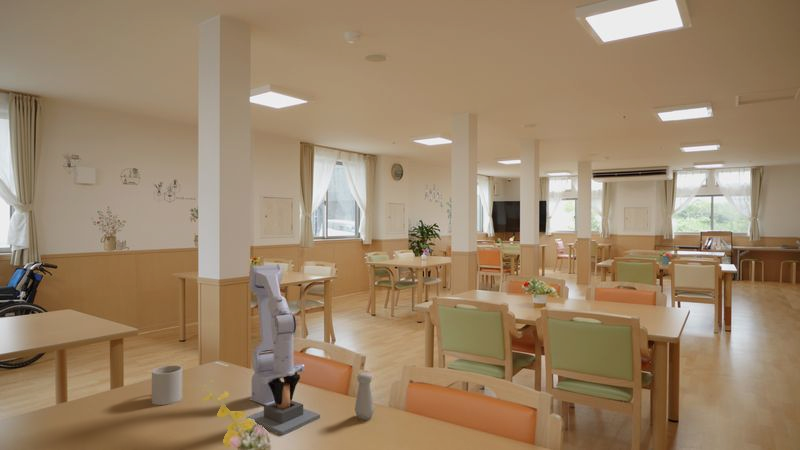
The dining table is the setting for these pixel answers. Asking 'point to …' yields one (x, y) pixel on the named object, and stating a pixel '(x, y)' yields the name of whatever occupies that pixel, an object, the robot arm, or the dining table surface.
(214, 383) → the dining table surface
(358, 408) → the salt shaker
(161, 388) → the grey cup
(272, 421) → the socket board
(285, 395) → the peg
